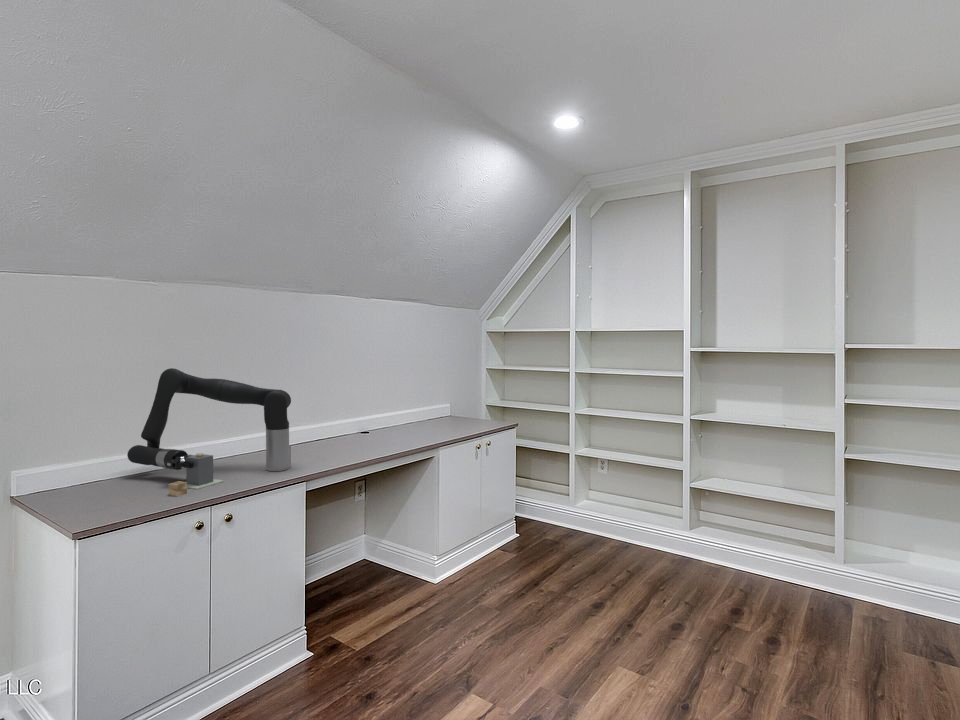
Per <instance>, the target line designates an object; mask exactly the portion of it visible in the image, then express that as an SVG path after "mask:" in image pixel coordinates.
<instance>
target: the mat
mask: <svg viewBox="0 0 960 720" xmlns="http://www.w3.org/2000/svg"><path fill="white" fill-rule="evenodd" d="M224 482H225V480H222V479H215V478H213V482H210V483H207V484H203V485H200V486H197V485H191V484H187V489H192V490H200V489H203V488H207V487H210V486H214V485H217V484H221V483H224Z"/></svg>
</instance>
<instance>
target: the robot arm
mask: <svg viewBox="0 0 960 720" xmlns="http://www.w3.org/2000/svg"><path fill="white" fill-rule="evenodd" d="M175 394H186V395H196V396H200V397H203V398H205V399H206V398H207V399H210V400H214V401H217V402H218V401H219V402H222V403H223V402H224V403H230V404H234V405H235V404H236V405H239V404H240V405H258V406H262V407H263V418H264V419H263V420H264V423H265V470H266V471H268V472H280V471H287V470H288V469H290V468H292V448H291V447H292V446H291V444H290V422H289V419H288V408H289V407H290V406H291V403H292V397H291V396H290V394H289V393H288V392H287V391H285V390H282V389H275V388H263V387H259V386H254V385H251V384H246V383H244V382H239V381H235V380H229V379H224V378H203V377H198V376H195V375H191V374H188V373H185V372H183V371H181V370H180V369H177V368H173V367H172V368H171V367H170V368H168V369H165V370H163V371H162V373H160V376H159V380H158V383H157V387H156V393H155V396H154V399H153V403H152V406H151V409H150V411H149V415H148V417H147V420H146V422H145V424H144V427H143V430H142V432H141V435H140V437H141V439H143V440H145V441H146V442H147V444H146V445H143V444H142V445H140V444H137V445H133V446H132V447H130V448H129V449H128V451H127V458H128V461H130V462H131V463H132V464H138V465H144V466H152V467H153V466H154V467H159V468H164V469H169V470H175V471H180V470H183V469H186V468H193V462H187V461H186V457H190V456H194V455H195V454H188V453H187V452H186V451H185V450H183V449H182V450H181V449H175V448H162V447H160V445H161V438H162V436H163V433H164V431H165V428H166V426H167V424H168V423H167V422H168V419H169V410H170V405H171V402H172V399H173V397H174V395H175Z"/></svg>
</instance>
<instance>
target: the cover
mask: <svg viewBox="0 0 960 720" xmlns="http://www.w3.org/2000/svg"><path fill="white" fill-rule="evenodd" d="M193 455H194V456H190V457H186V461H187V462H193V468H185V473H186V477H185V478H186V479H185V480H186V481H185V482H187V484H191V485H197V486H200V485H203V484H207V483H210V482H213V479H214V455H211V454H204V453H203V452H198V453H195V454H193Z"/></svg>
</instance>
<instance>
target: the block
mask: <svg viewBox="0 0 960 720" xmlns="http://www.w3.org/2000/svg"><path fill="white" fill-rule="evenodd" d="M186 494H188V488H187V482H186V481H180V480H178V481H174V482H171V483H168V496H173V497H179V496H183V495H186Z"/></svg>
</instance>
